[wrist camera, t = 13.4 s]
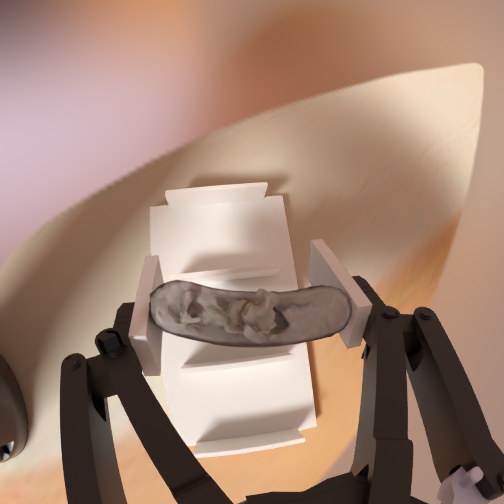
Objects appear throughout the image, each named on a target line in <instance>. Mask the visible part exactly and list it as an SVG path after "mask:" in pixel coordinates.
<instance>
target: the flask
mask: <svg viewBox="0 0 504 504" xmlns="http://www.w3.org/2000/svg"><path fill="white" fill-rule="evenodd" d="M149 310H150V313H151V316H152V320H153V322H154V323H155V325H156V326H157V327H159V328H160V329H162V330H163V331H164V332H166V333H170V334H172V335H175V336H179V337H182V338H186V339H190V340H195V341H200V342H205V343H210V344H214V345H221V346H229V347H261V348H264V347H278V346H286V345H294V344H300V343H304V342H309V341H313V340H318V339H322V338H326V337H331V336H333V335H334V334H336V333H338V332H340V331H342V330H344V328H345V327H346V326H347V324H348V322H349V319H350V313H351V305H350V303H349V301H348V299H347V297H346V295H345V294H344V293H343V292H342V290H341V289H340V288H336V287H333V286H325V285H319V286H312V287H308V288H305V289H299V290H293V291H285V292H275V291H270V292H268V291H266V290H265V289H258V290H257V291H256V292H254V291H232V290H225V289H217V288H211V287H207V286H204V285H200V284H197V283H193V282H188V281H183V280H173V281H169V282H166V283H163V284H161V285H159V286H158V287H157V288H156V289H155V290H154V291H152V292H151V293H150V303H149Z"/></svg>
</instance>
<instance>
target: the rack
mask: <svg viewBox="0 0 504 504" xmlns="http://www.w3.org/2000/svg"><path fill="white" fill-rule="evenodd" d="M267 187H268V184H267V182H261V183H245V184H231V185H218V186H206V187H195V188H185V189H175V190H166V191H165V196H166V199H167V202H168V205H162V206H154V207H149V208H150V249H151V256H153V255H158V256H159V261H160V266H161V271H162V276H163V281H164V283H166V282H169V281H173V280H183V281H188V282H193V283H197V284H200V285H204V286H207V287H211V288H217V289H225V290H232V291H254V292H256V291H257V290H258V289H265V290H266V291H268V292H270V291H275V292H285V291H293V290H298V284H297V278H296V272H295V265H294V259H293V254H292V248H291V242H290V236H289V230H288V225H287V219H286V214H285V208H284V203H283V198H282V195H280V196H265V193H266V190H267ZM161 369H162V376H163V383H164V389H165V395H166V401H167V407H168V412H169V418H170V421H171V423H172V424H173V426H174V427H175V429H176V430H177V432H178V433H179V435H180V436H181V438H182V439H183V441H184V442H185V444H186V445H187V446H196V447H195V453H194V455H195V458H202V457H214V456H224V455H232V454H240V453H247V452H254V451H260V450H266V449H272V448H277V447H282V446H287V445H292V444H297V443H301V442H305V437H304V436H303V435H302V434H301V433H300V432H299V431H300V430H304V429H308V428H313V427H317V425H316V416H315V407H314V399H313V390H312V382H311V374H310V367H309V359H308V352H307V344H306V342H304V343H300V344H294V345H286V346H278V347H264V348H261V347H229V346H221V345H214V344H210V343H205V342H200V341H195V340H190V339H186V338H182V337H179V336H175V335H172V334H170V333H166V332H164V331H163V334H162V350H161Z"/></svg>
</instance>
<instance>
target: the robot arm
mask: <svg viewBox="0 0 504 504" xmlns="http://www.w3.org/2000/svg"><path fill="white" fill-rule="evenodd" d="M307 277H308V279H309V281H310V282H311V284H312V286H319V285H325V286H333V287H336V288H340V289H341V290H342V292H343V293H344V294H345V295H346V297H347V299H348V301H349V303H350V305H351V313H350V319H349V322H348V324H347V326H346V327H345V328H344V330H342V331H340V332H338V333H339V334H340V336H341V338H342V340H343V342H344V344H345V346H346V347H347V349H348V348H352V347H356V346H360V345H361V342H362V338H364V340H365V342H366V345H365V348H364V351H363V354H362V357H361V359H363V358H364V368H363V383H362V395H361V406H360V416H359V424H358V433H357V440H356V447H355V455H354V460H353V464H352V467H351V469H350V472H349V473H346V474H342V475H339V476H336V477H332V478H329V479H327V480H325V481H323V482H321V483H319V484H317V485H315V486H313V487H311V488H310V489H308V490H306V491H303V492H269V493H263V494H257V495H250V496H246V500H247V501H246V500H245V501H243V502H240V503H238V504H428V503H426V502H423V501H421V500H419V499H417V498H415V497H412V496H410V494H411V483H412V468H413V443H412V441H411V440H409V439H408V434H407V433H408V405H407V404H408V403H407V378H406V370H407V372H408V375H409V379H410V382H411V385H412V388H413V391H414V394H415V397H416V400H417V403H418V407H419V410H420V413H421V417H422V420H423V424H424V427H425V430H426V435H427V438H428V442H429V446H430V450H431V454H432V458H433V462H434V466H435V469H436V472H437V475H438V477H439V480H440V482H441V486H440V489H439V492H438V494H437V498H438V500H440V501H441V504H487V503H489V502H491V501H493V500H494V499H496V498H498V497H500V496H502V495H503V494H504V454H503V453H502V451H501V450H500V449H499V447H498V446H497V445H496V443H495V442H494V440H493V439H492V437H491V434H490V431H489V429H488V426H487V423H486V421H485V418H484V415H483V413H482V410H481V407H480V405H479V403H478V400H477V398H476V395H475V393H474V391H473V388H472V386H471V384H470V382H469V379H468V377H467V375H466V373H465V371H464V368H463V366H462V364H461V362H460V360H459V358H458V356H457V354H456V352H455V350H454V348H453V346H452V344H451V342H450V340H449V338H448V336H447V334H446V332H445V330H444V328H443V327H442V325H441V323H440V321H439V319H438V318H437V316H436V314H435V313H434V312H433V311H432V310H431V309H429V308H426V307H418V308H416V309H415V311H414V314H413V315H409V314H400V312H399V311H398V310H397V309H395V308H393V307H391V306H386V305H385V304H384V303H383V301H382V300H381V299H380V298H379V296H378V295H377V294H376V292H375V291H374V290H373V289H372V287H370V285H369V284H368V282H367V281H366V280H365V279H363V278H362V277H360V276H352V277H351V275H350V274H349V273H348V271H347V270H346V269H345V267H344V266H343V265H342V263H341V262H340V261H339V260H338V258H337V257H336V256H335V254H334V253H333V252H332V251H331V249H330V248H329V247H328V246H327V244H326V243H325V242H324V241H323V239H314V240H311V241H310V253H309V264H308V274H307ZM163 283H164V281H163V276H162V271H161V266H160V261H159V256H158V255H153V256H146V258H145V262H144V266H143V270H142V274H141V278H140V282H139V287H138V291H137V296H136V300H135V302H132V303H123V304H122V305H121V306H120V307H119V309H118V310H117V314H116V318H115V322H114V323H115V324H114V326H113V328H108V329H104V330H103V331H101V332H100V333H99V334H98V335H97V336H96V338H95V344H96V346H97V348H98V350H99V352H100V355H97V356H95V357H91V358H88V359H86V358H85V357H84V356H83V355H82V354H79V353H75V354H71V355H69V356H67V357H66V358H65V359H64V360H63V362H62V365H61V379H60V433H61V450H62V462H63V472H64V480H65V487H66V494H67V500H68V504H127V501H126V497H125V494H124V490H123V486H122V482H121V477H120V473H119V468H118V464H117V459H116V454H115V449H114V443H113V437H112V431H111V425H110V418H109V410H108V402H107V397H110V396H113V395H118V397H119V399H120V401H121V403H122V405H123V407H124V410H125V412H126V414H127V416H128V418H129V420H130V422H131V424H132V426H133V428H134V429H135V431H136V433H137V435H138V437H139V439H140V441H141V443H142V444H143V446H144V448H145V450H146V451H147V453H148V455H149V457H150V458H151V460H152V462H153V463H154V465H155V467H156V468H157V470H158V472H159V473H160V475H161V476H162V478H163V480H164V481H165V483H166V484H167V486H168V487H169V489H170V491H171V493H172V495H173V497H174V499H175V500H176V502H177V503H178V504H233V503H232V501H231V500H230V499H229V498H228V497H227V496H226V494H225V493H224V492H223V491H222V490H221V488H220V487H219V486H218V485H217V483H216V482H215V481H214V480H213V479H212V477H211V476H210V475H209V474H208V473H207V472H206V471H205V470H204V468H203V467H202V466H201V464H200V463H199V462H198V460H197V459H196V458H195V456H194V455H193V454H192V452H191V451H190V449H189V448H188V447H187V445H186V444H185V442H184V441H183V439H182V438H181V436H180V435H179V433H178V432H177V430H176V429H175V427H174V426H173V424H172V423H171V421H170V420H169V418H168V417H167V415H166V413H165V412H164V410H163V409H162V407H161V405H160V404H159V402H158V400H157V399H156V397H155V395H154V394H153V392H152V390H151V389H150V387H149V385H148V383H147V382H146V380H145V378H144V376H143V374H142V371H143V373H144V375H145V376H160V370H161V350H162V334H163V330H162V329H160V328H159V327H157V326H156V325H155V323H154V322H153V320H152V316H151V313H150V310H149V303H150V293H151V292H152V291H154V290H155V289H156V288H157V287H158V286H159V285H161V284H163ZM26 439H27V416H26V410H25V406H24V402H23V398H22V395H21V392H20V389H19V387H18V384H17V382H16V380H15V378H14V376H13V374H12V372H11V370H10V368H9V367H8V365H7V363H6V362H5V360H4V359H3V358H2V356H1V355H0V463H1V462H5V461H8V460H10V459H12V458H14V457H16V456H17V455H19V454H20V453H21V451H22V450H23V448H24V446H25V443H26Z"/></svg>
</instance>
